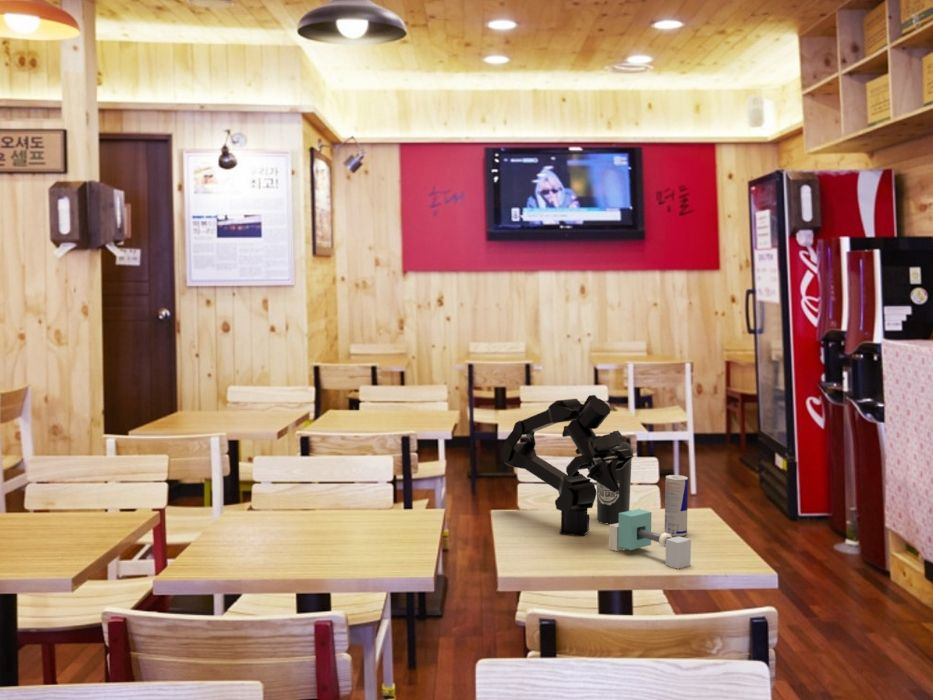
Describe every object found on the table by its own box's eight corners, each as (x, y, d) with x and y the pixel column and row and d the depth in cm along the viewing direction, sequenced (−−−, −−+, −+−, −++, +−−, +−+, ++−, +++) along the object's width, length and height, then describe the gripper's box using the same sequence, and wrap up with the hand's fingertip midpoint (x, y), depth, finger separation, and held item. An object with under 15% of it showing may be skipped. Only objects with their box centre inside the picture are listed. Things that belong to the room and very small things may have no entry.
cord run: (609, 549, 217) (609, 522, 216) (629, 544, 221) (629, 517, 221) (673, 570, 201) (674, 541, 200) (694, 564, 205) (694, 536, 205)
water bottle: (587, 522, 242) (588, 437, 240) (604, 514, 250) (605, 432, 249) (622, 527, 236) (623, 441, 235) (638, 519, 245) (639, 436, 243)
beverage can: (687, 537, 227) (688, 479, 226) (664, 536, 228) (665, 478, 227) (686, 532, 232) (687, 474, 231) (664, 530, 233) (665, 474, 232)
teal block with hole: (618, 546, 214) (618, 513, 214) (638, 541, 219) (638, 508, 218) (630, 549, 211) (631, 516, 211) (650, 544, 215) (651, 512, 215)
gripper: (574, 424, 216) (606, 477, 208) (628, 417, 227) (661, 467, 219) (552, 451, 223) (582, 503, 215) (605, 443, 234) (636, 493, 226)
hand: (616, 491), depth 219 cm, fingers closed
